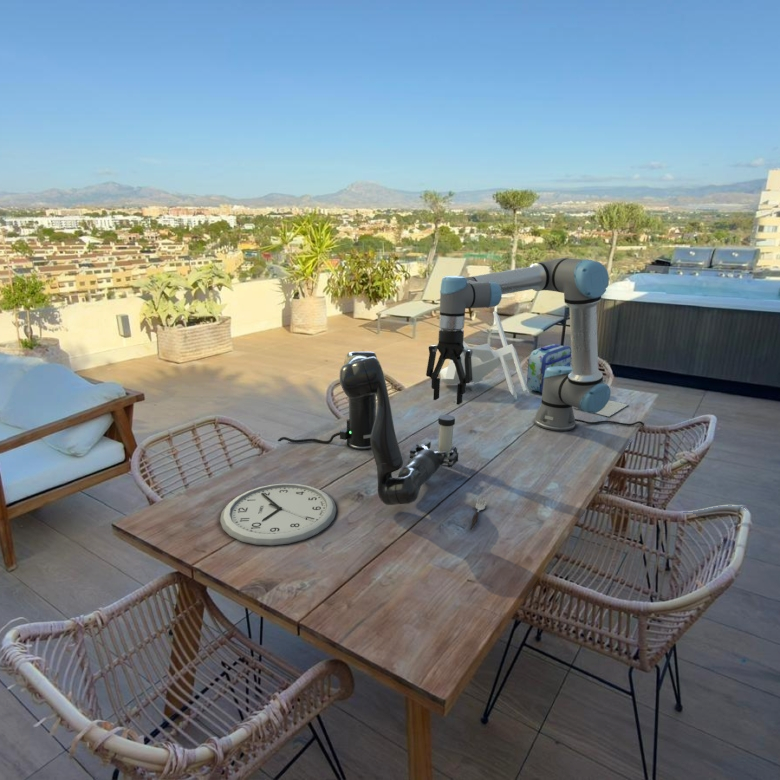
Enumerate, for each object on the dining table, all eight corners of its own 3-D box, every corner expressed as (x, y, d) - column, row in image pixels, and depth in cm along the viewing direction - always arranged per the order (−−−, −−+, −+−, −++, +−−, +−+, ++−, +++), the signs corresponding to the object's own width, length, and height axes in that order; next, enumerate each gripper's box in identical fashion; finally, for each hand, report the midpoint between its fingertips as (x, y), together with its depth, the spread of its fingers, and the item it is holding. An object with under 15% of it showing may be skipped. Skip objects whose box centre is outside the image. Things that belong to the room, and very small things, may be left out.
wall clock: (335, 537, 125) (206, 541, 122) (335, 543, 125) (207, 547, 123) (337, 479, 154) (232, 481, 151) (337, 484, 154) (233, 486, 151)
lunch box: (543, 396, 238) (548, 352, 231) (522, 391, 245) (526, 347, 239) (570, 385, 255) (575, 343, 249) (550, 381, 262) (555, 340, 256)
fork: (465, 530, 132) (466, 523, 131) (477, 500, 146) (478, 494, 146) (475, 532, 131) (476, 525, 130) (487, 502, 145) (487, 496, 145)
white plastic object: (461, 429, 252) (437, 405, 227) (444, 352, 274) (420, 323, 250) (535, 404, 240) (518, 377, 215) (510, 326, 262) (492, 293, 237)
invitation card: (608, 416, 214) (573, 407, 224) (608, 416, 214) (573, 408, 224) (628, 404, 229) (594, 396, 238) (628, 405, 229) (594, 397, 238)
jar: (447, 458, 173) (449, 415, 168) (453, 464, 169) (455, 420, 164) (435, 460, 171) (437, 417, 167) (441, 466, 168) (443, 421, 163)
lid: (450, 419, 169) (450, 413, 169) (457, 425, 165) (458, 419, 164) (435, 421, 168) (435, 415, 167) (442, 427, 163) (443, 421, 162)
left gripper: (446, 459, 148) (464, 440, 162) (400, 450, 154) (421, 431, 168) (444, 483, 150) (462, 462, 164) (399, 473, 156) (420, 453, 170)
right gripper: (487, 330, 155) (482, 403, 162) (426, 323, 165) (424, 392, 172) (478, 334, 149) (473, 410, 156) (416, 327, 159) (413, 398, 166)
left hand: (442, 446), depth 166 cm, fingers open, 8 cm apart
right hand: (447, 401), depth 164 cm, fingers open, 7 cm apart
